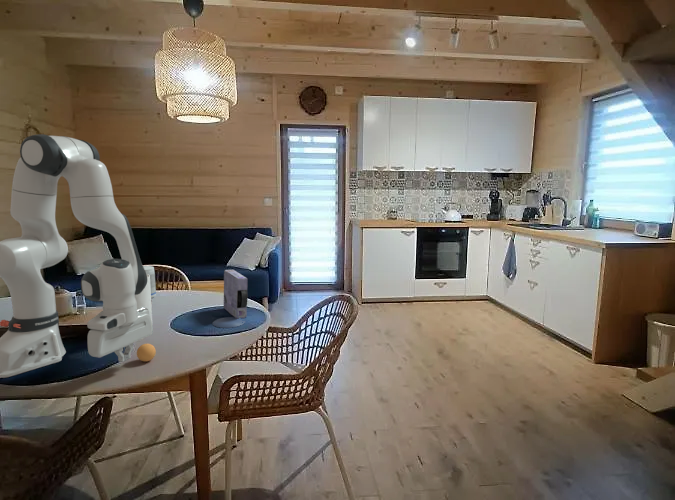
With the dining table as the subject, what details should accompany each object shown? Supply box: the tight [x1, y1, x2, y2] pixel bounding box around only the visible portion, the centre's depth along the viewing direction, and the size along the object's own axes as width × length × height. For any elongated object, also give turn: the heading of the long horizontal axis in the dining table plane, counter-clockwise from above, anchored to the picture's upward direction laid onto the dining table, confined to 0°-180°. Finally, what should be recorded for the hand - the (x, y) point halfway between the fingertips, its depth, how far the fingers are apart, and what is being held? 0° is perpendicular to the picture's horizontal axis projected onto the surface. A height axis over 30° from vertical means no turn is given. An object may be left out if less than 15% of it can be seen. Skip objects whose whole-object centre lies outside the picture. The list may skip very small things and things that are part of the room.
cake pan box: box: [223, 269, 249, 319], centre depth 184 cm, size 19×5×18 cm, turn 32°
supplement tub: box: [143, 265, 157, 299], centre depth 206 cm, size 10×10×15 cm
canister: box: [135, 274, 153, 326], centre depth 163 cm, size 14×14×20 cm
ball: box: [136, 343, 157, 363], centre depth 134 cm, size 6×6×6 cm
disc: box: [212, 316, 246, 329], centre depth 172 cm, size 13×13×1 cm
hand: (124, 360), depth 126 cm, fingers closed
